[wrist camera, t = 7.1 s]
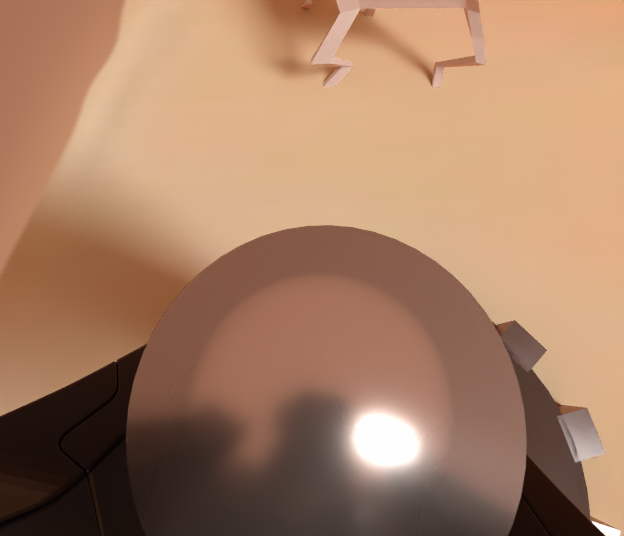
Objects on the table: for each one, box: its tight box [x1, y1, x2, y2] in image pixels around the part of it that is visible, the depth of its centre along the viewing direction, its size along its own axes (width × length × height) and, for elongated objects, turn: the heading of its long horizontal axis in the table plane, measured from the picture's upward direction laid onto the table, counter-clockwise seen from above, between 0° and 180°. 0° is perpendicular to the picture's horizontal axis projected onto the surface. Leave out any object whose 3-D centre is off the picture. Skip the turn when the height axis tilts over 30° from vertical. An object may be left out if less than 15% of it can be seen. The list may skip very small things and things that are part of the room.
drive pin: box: [126, 225, 527, 536], centre depth 9 cm, size 4×4×11 cm
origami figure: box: [302, 0, 486, 88], centre depth 20 cm, size 12×8×5 cm
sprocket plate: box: [495, 320, 620, 536], centre depth 14 cm, size 17×17×3 cm
